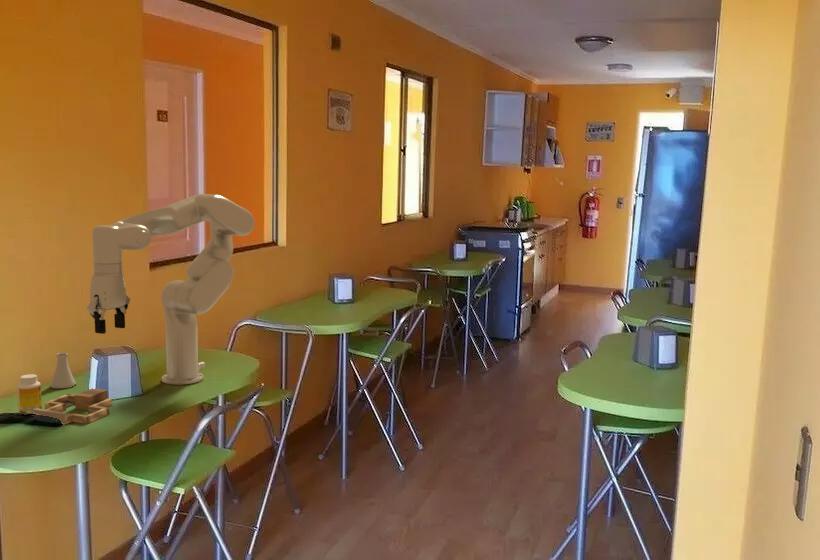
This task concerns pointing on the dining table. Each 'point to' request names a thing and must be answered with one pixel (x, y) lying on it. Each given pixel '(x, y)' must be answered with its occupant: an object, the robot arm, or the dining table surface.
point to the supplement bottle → (29, 394)
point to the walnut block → (90, 398)
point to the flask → (62, 373)
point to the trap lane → (61, 403)
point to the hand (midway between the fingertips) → (110, 330)
